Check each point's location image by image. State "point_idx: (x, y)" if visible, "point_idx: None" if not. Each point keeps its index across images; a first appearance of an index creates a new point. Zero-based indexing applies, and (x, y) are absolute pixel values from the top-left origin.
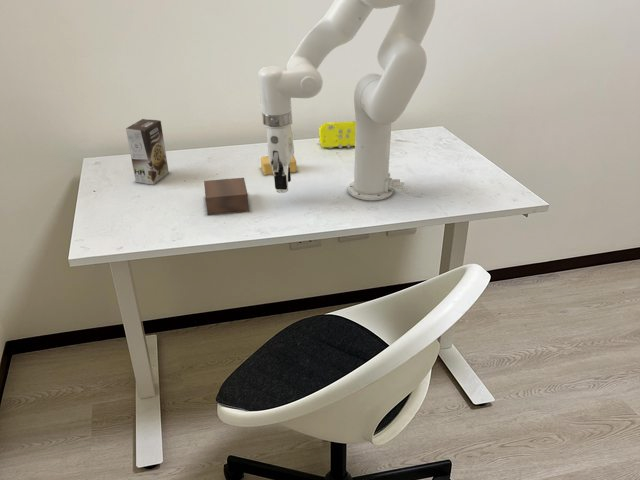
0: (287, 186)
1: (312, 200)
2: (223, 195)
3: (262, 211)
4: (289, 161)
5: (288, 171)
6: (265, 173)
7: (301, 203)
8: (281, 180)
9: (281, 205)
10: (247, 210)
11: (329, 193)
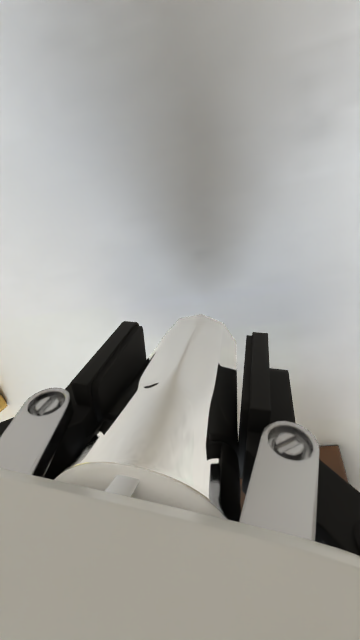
0: (201, 329)
1: (181, 147)
2: None
3: (340, 394)
4: (248, 564)
5: (108, 374)
6: (2, 405)
7: (231, 211)
8: (292, 415)
9: (265, 317)
10: (339, 453)
11: (59, 44)
